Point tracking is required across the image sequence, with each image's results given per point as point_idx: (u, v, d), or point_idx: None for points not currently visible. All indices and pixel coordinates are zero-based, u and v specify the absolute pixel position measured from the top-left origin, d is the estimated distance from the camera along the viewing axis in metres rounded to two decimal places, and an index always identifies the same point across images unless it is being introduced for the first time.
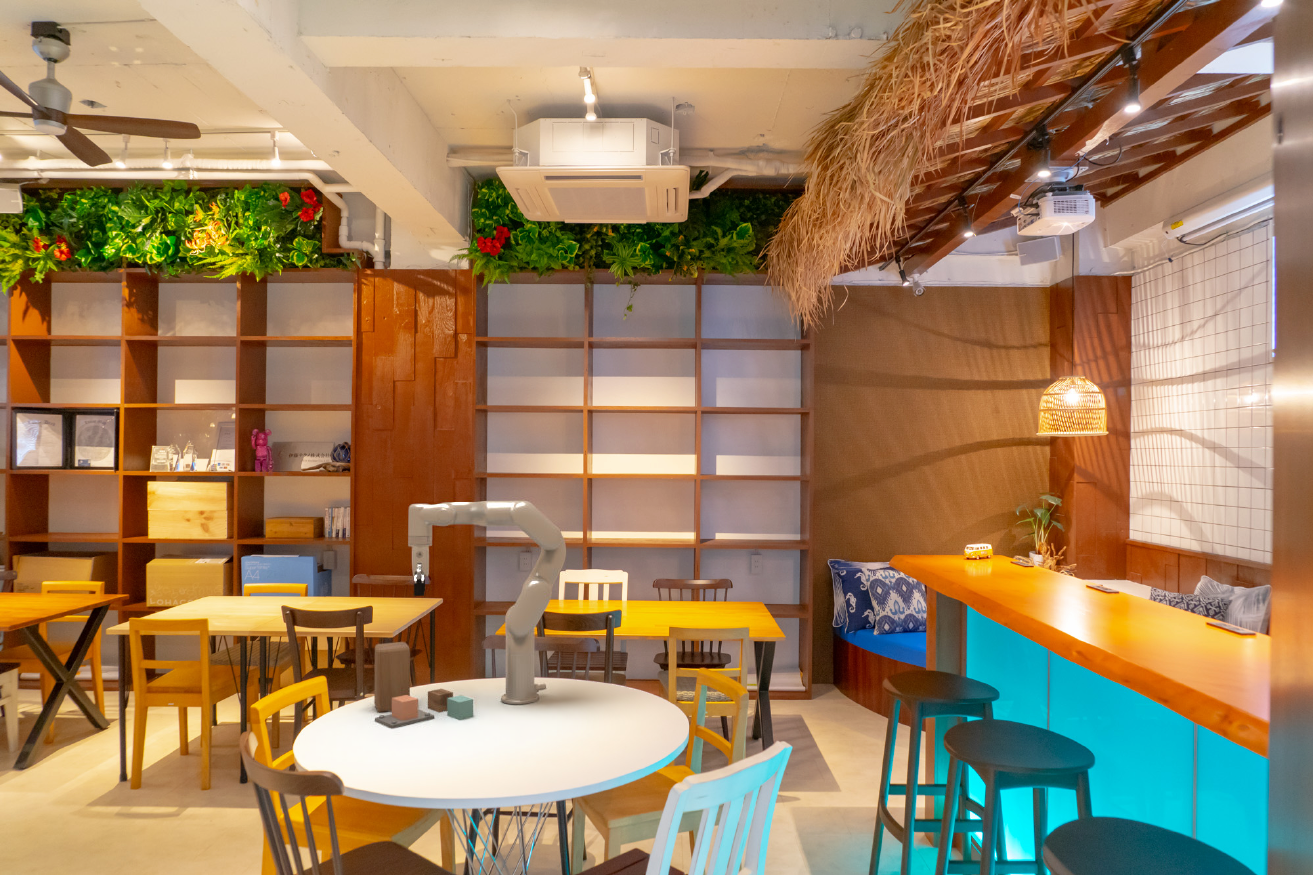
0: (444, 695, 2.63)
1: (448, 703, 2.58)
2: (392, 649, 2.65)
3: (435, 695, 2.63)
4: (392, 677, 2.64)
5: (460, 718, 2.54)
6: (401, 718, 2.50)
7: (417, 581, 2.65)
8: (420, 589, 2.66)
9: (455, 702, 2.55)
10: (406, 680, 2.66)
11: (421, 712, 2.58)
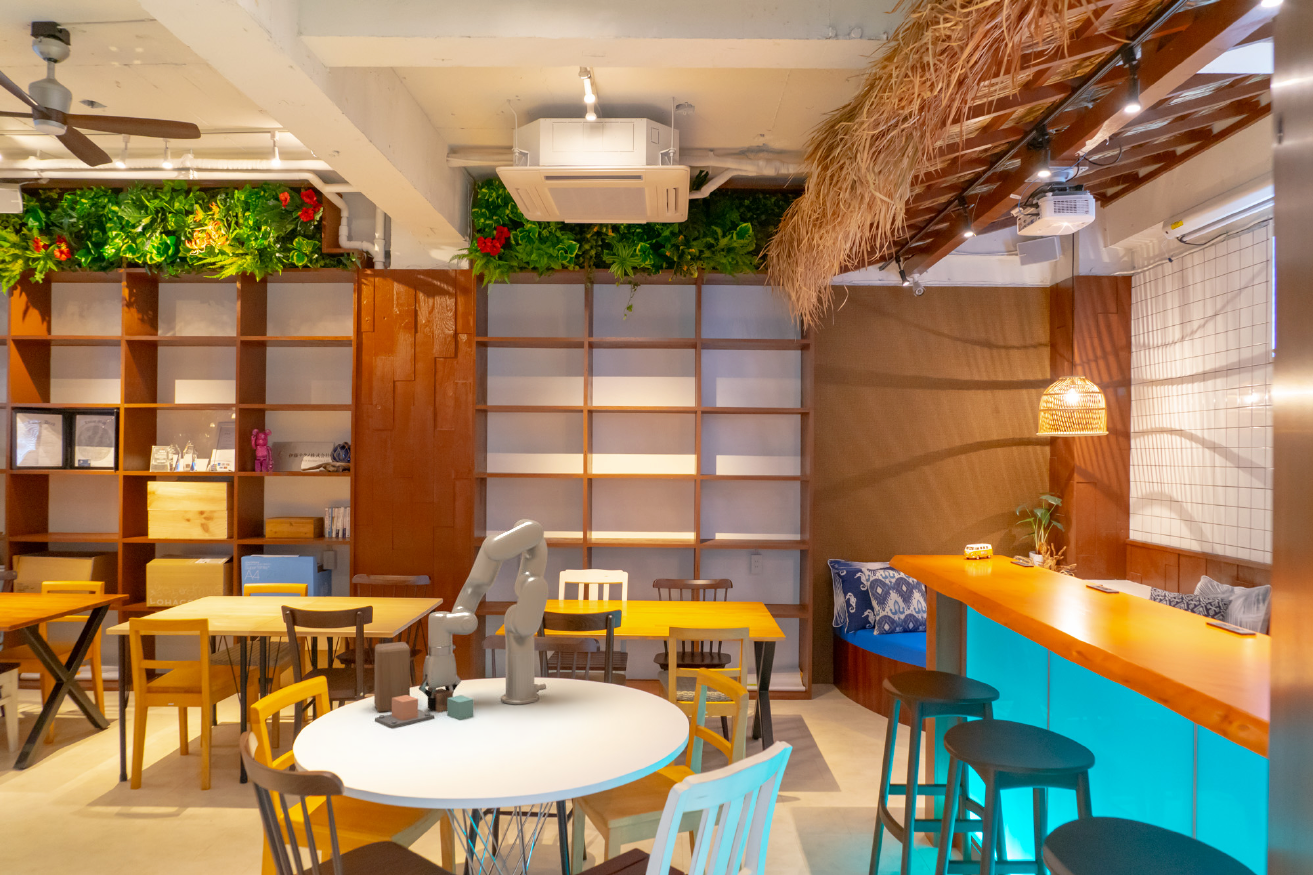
0: (444, 695, 2.63)
1: (448, 703, 2.58)
2: (392, 649, 2.65)
3: (435, 695, 2.63)
4: (392, 677, 2.64)
5: (460, 718, 2.54)
6: (401, 718, 2.50)
7: None
8: None
9: (455, 702, 2.55)
10: (406, 680, 2.66)
11: (421, 712, 2.58)
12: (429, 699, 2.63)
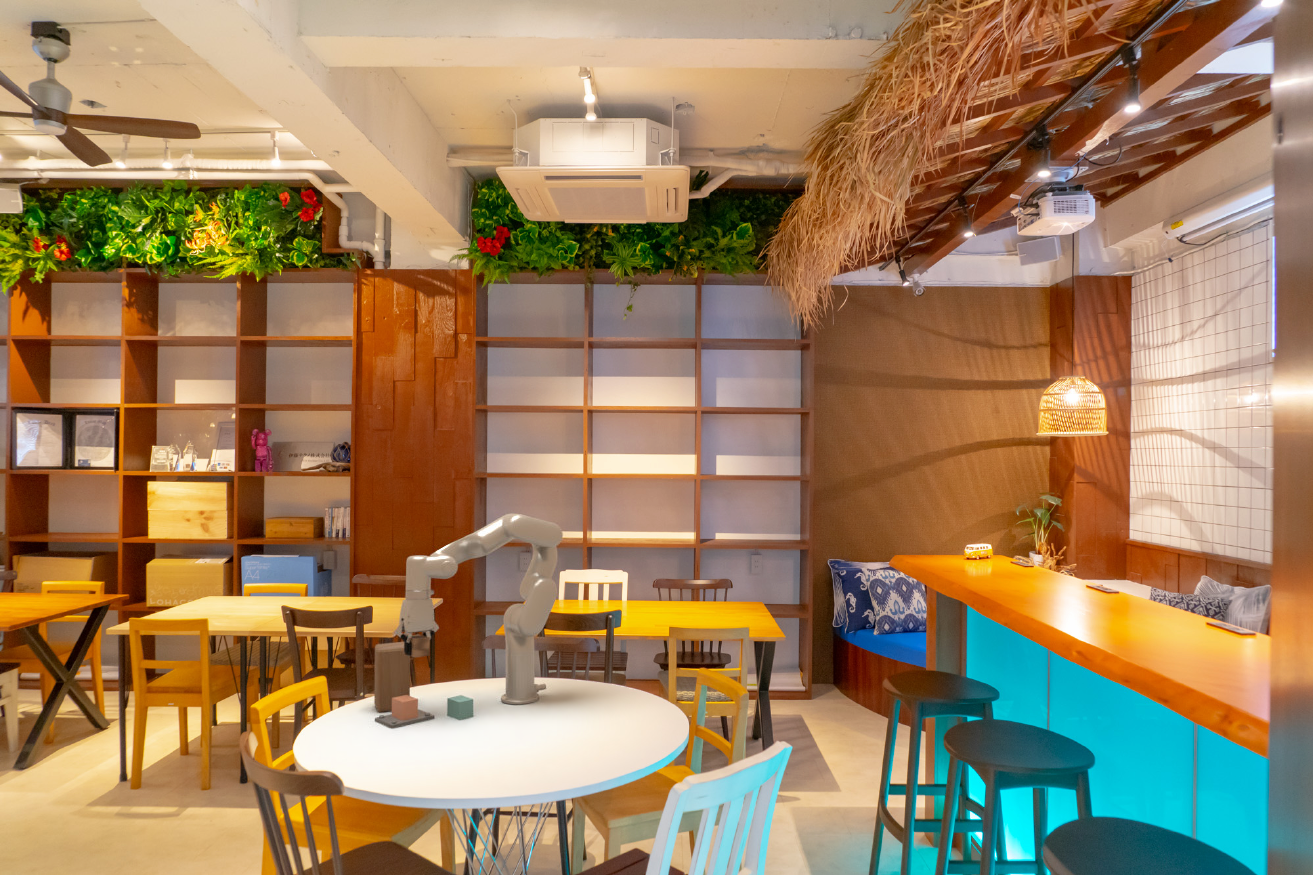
0: (420, 640, 2.56)
1: (448, 703, 2.58)
2: (392, 649, 2.65)
3: (411, 640, 2.57)
4: (392, 677, 2.64)
5: (460, 718, 2.54)
6: (401, 718, 2.50)
7: None
8: None
9: (455, 702, 2.55)
10: (406, 680, 2.66)
11: (421, 712, 2.58)
12: (405, 644, 2.57)
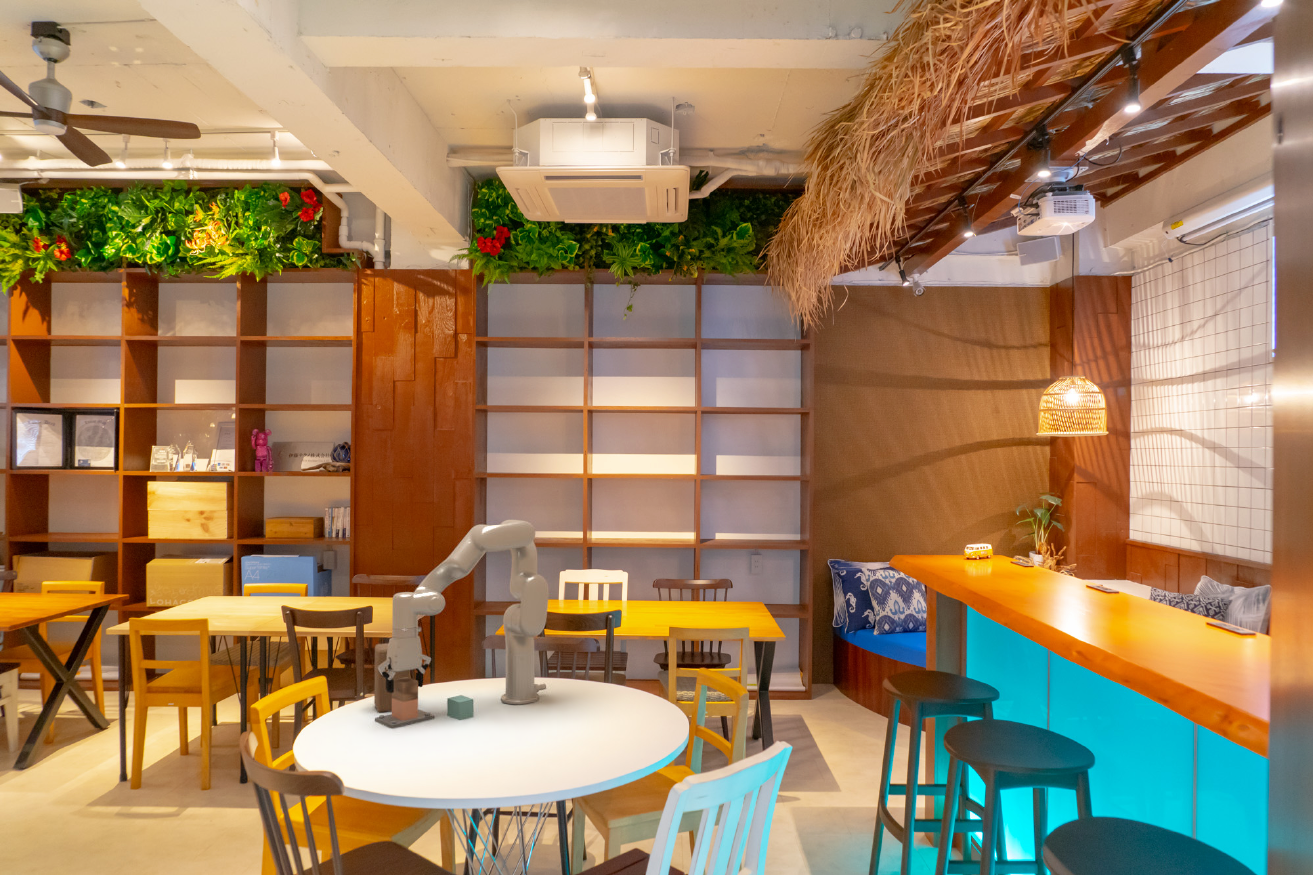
0: (409, 683, 2.52)
1: (448, 703, 2.58)
2: None
3: (399, 683, 2.52)
4: None
5: (460, 718, 2.54)
6: (401, 718, 2.50)
7: None
8: None
9: (455, 702, 2.55)
10: None
11: (421, 712, 2.58)
12: (387, 681, 2.50)
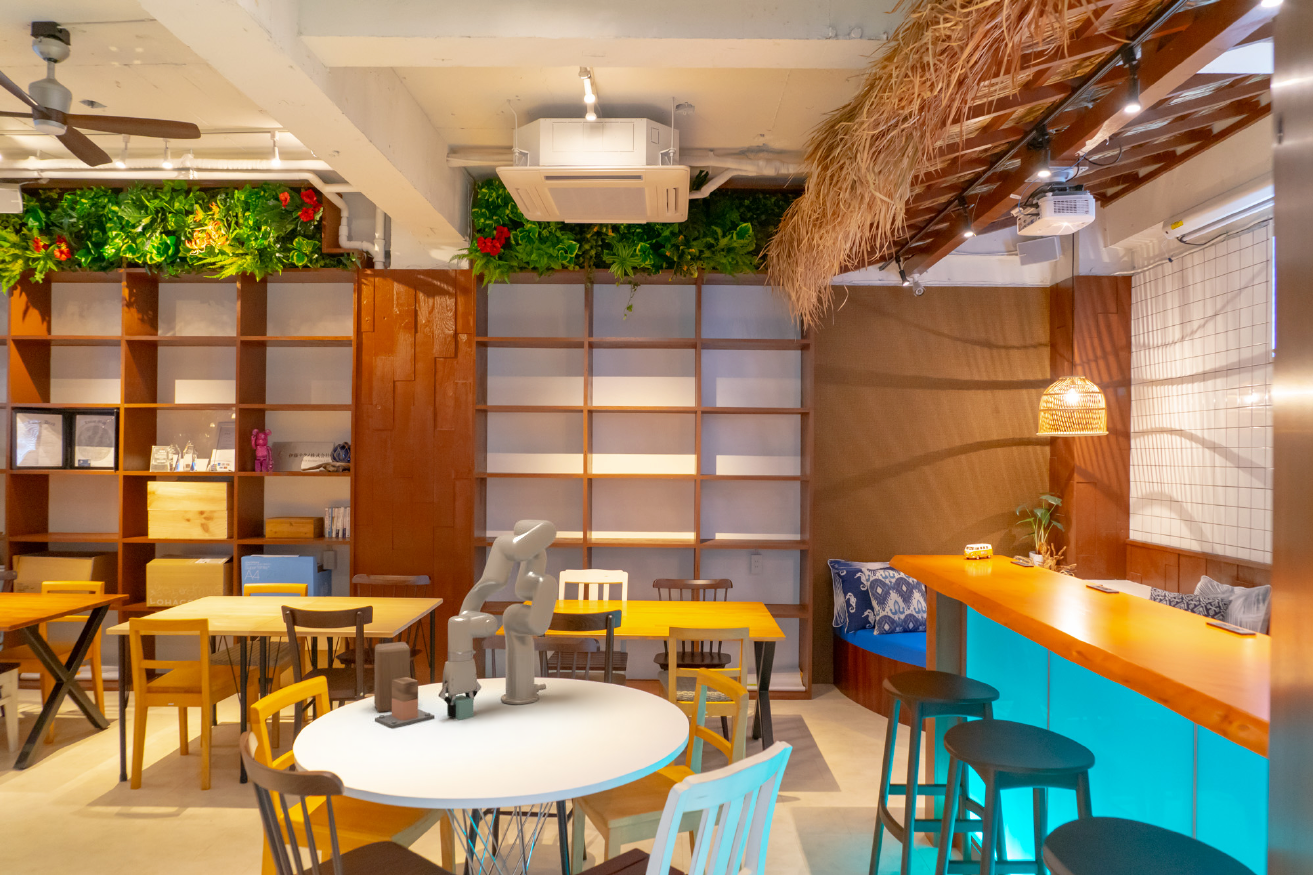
0: (409, 683, 2.52)
1: None
2: (392, 649, 2.65)
3: (399, 683, 2.52)
4: (392, 677, 2.64)
5: (460, 718, 2.54)
6: (401, 718, 2.50)
7: None
8: None
9: (455, 702, 2.55)
10: None
11: (421, 712, 2.58)
12: (449, 706, 2.55)
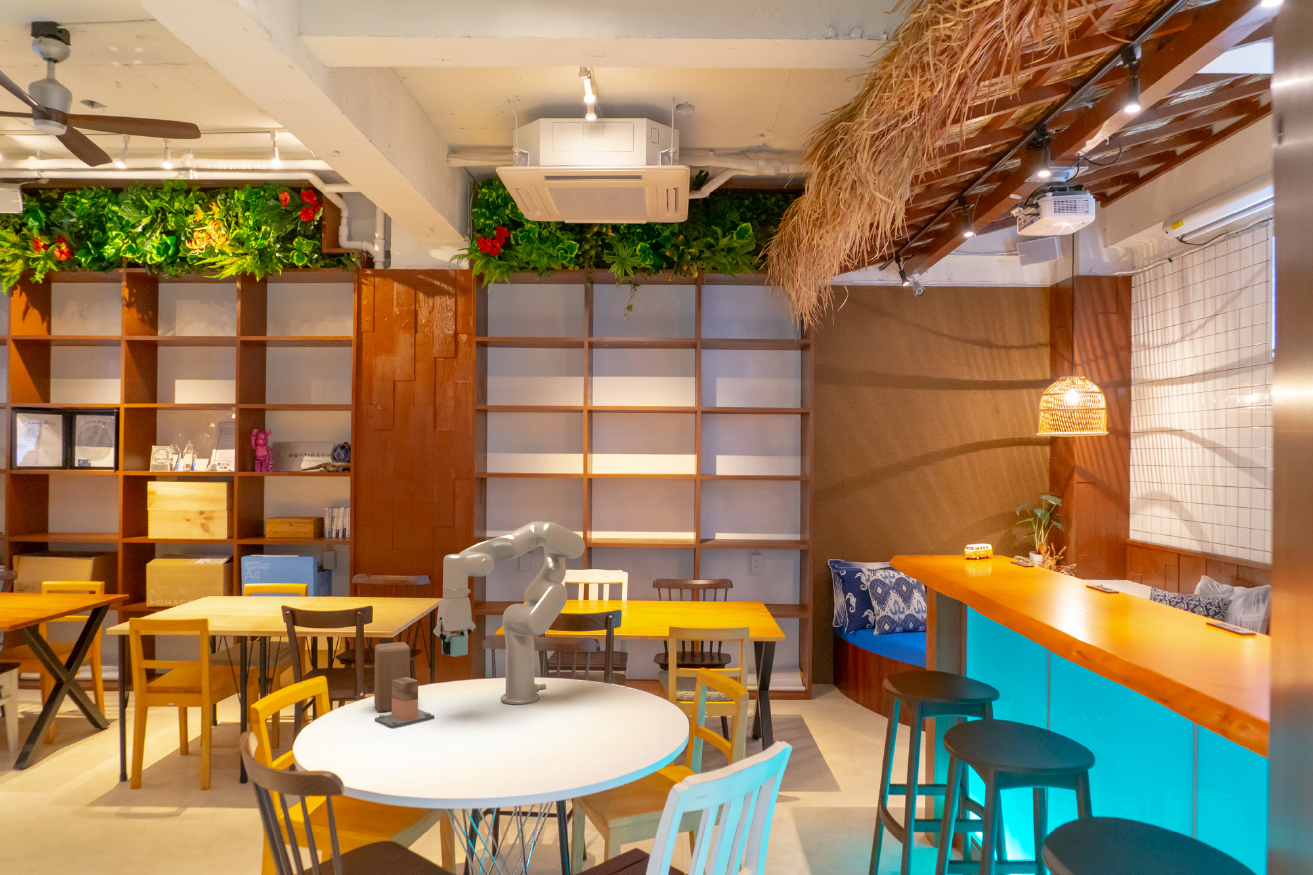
0: (409, 683, 2.52)
1: None
2: (392, 649, 2.65)
3: (399, 683, 2.52)
4: (392, 677, 2.64)
5: (455, 654, 2.54)
6: (401, 718, 2.50)
7: None
8: None
9: (450, 639, 2.55)
10: None
11: (421, 712, 2.58)
12: (443, 643, 2.55)
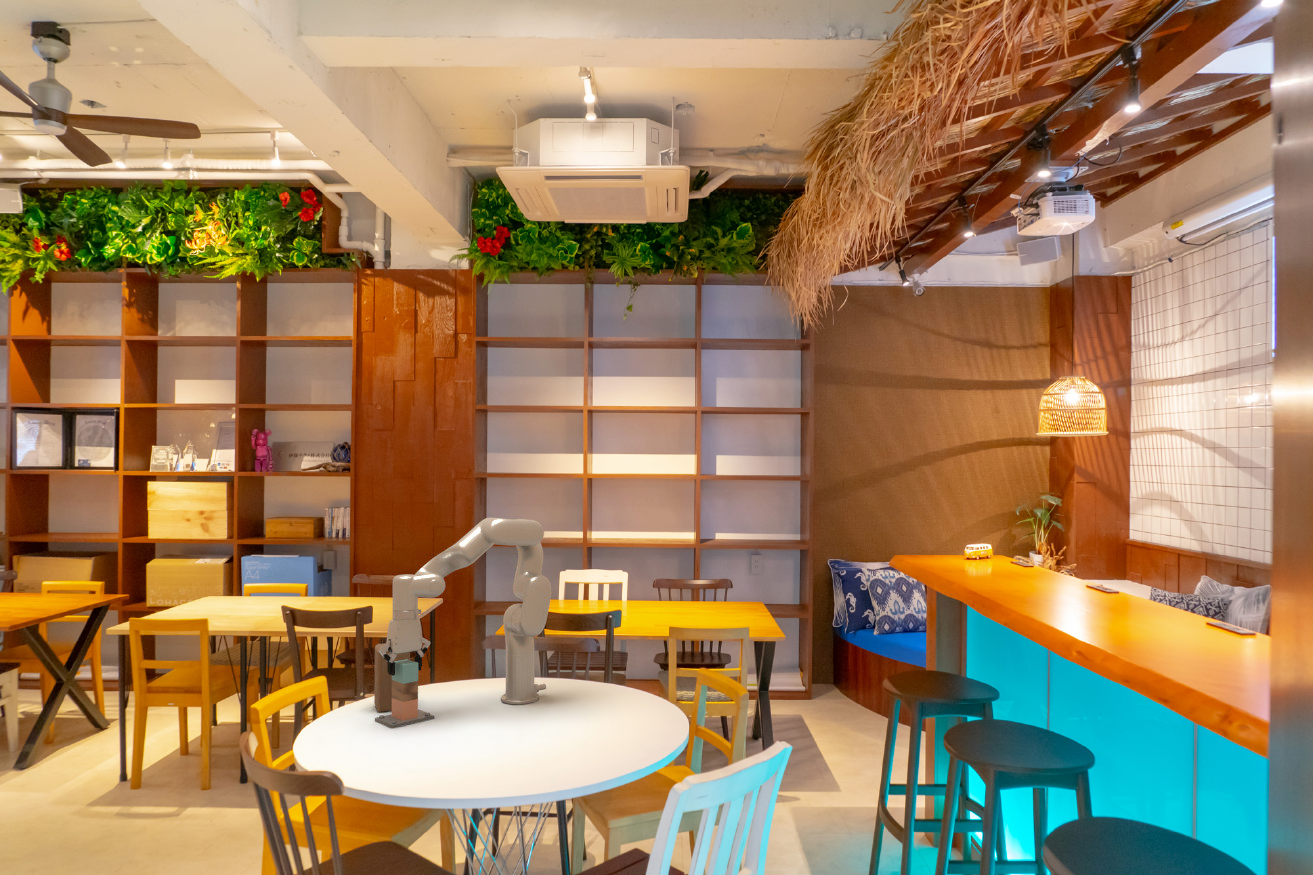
0: (409, 683, 2.52)
1: None
2: None
3: (399, 684, 2.52)
4: None
5: (404, 681, 2.51)
6: (401, 718, 2.50)
7: None
8: None
9: (399, 665, 2.52)
10: None
11: (421, 712, 2.58)
12: (388, 664, 2.51)
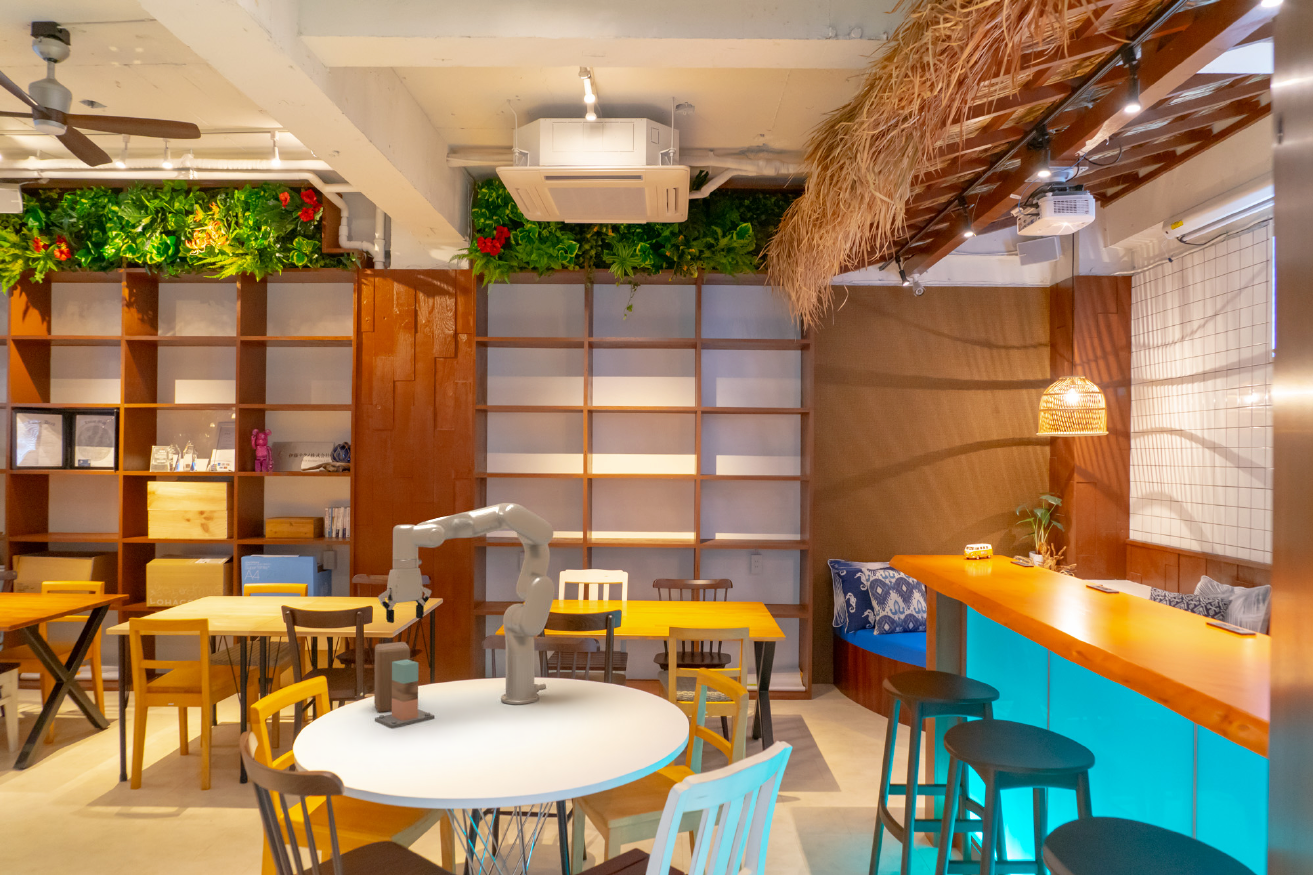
0: (409, 683, 2.52)
1: (393, 667, 2.55)
2: (392, 649, 2.65)
3: (399, 684, 2.52)
4: None
5: (404, 681, 2.51)
6: (401, 718, 2.50)
7: None
8: None
9: (399, 665, 2.52)
10: None
11: (421, 712, 2.58)
12: (387, 611, 2.52)
